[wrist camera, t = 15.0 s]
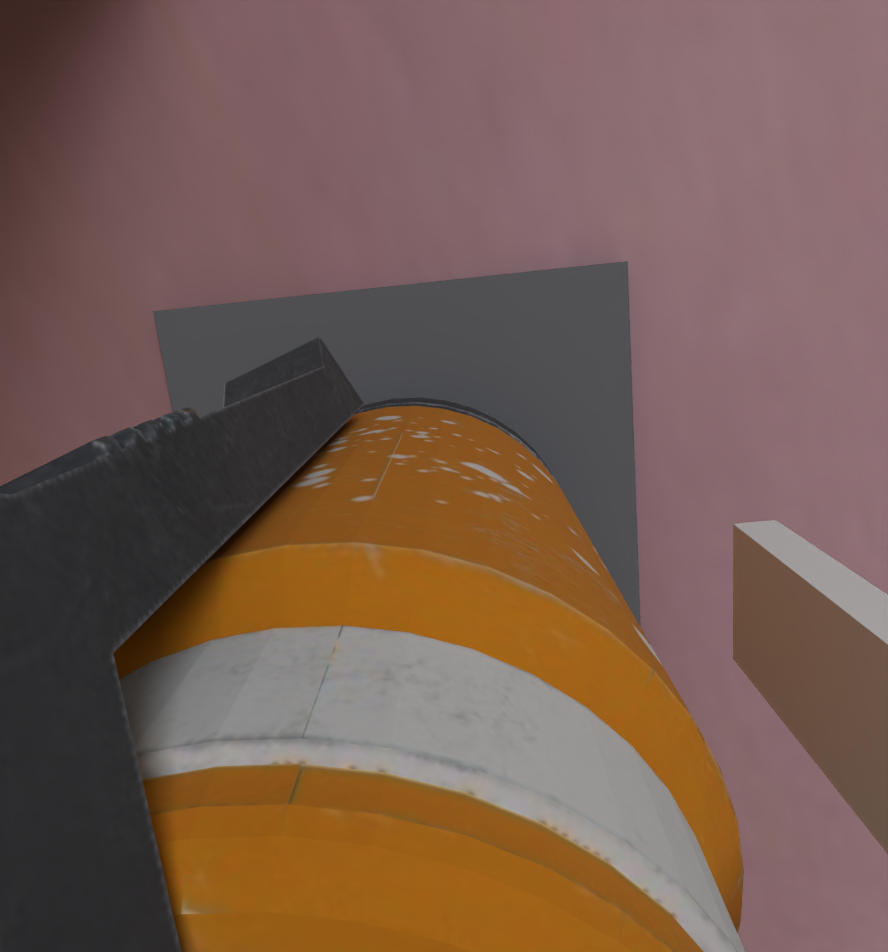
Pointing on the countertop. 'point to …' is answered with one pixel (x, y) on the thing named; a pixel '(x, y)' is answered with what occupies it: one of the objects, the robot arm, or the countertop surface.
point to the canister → (337, 696)
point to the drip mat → (461, 370)
